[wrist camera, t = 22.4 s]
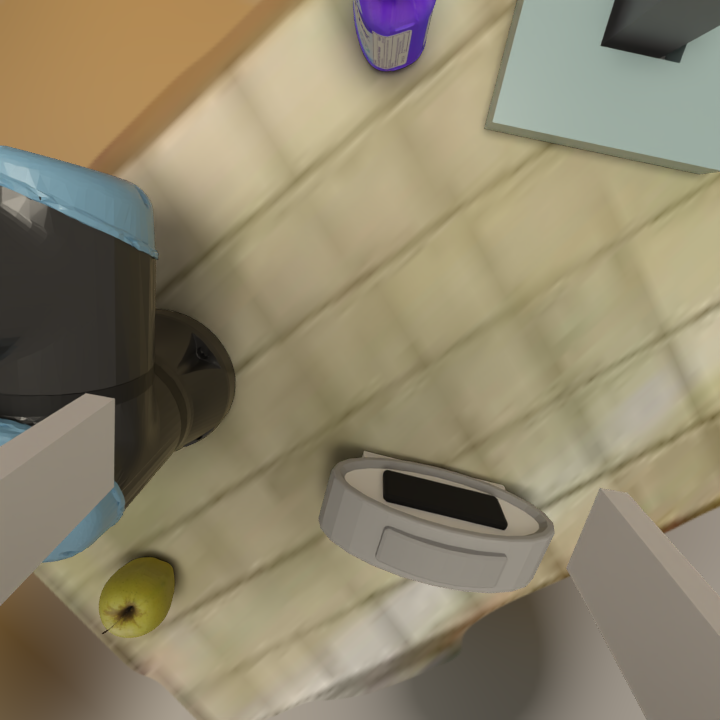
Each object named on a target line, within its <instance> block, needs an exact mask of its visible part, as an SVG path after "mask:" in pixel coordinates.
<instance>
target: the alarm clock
mask: <svg viewBox="0 0 720 720" xmlns="http://www.w3.org/2000/svg"><path fill="white" fill-rule="evenodd" d="M319 523H320V528H321V529H322V530H323V532H324V533H325V534H326V535H327V537H328V538H329V539H330V540H331V541H332V542H334V543H335V544H337V545H338V546H339V547H341V548H342V549H343V550H345V551H346V552H348V553H349V554H351V555H353V556H355V557H357V558H359V559H361V560H363V561H365V562H367V563H369V564H370V565H373V566H375V567H378V568H380V569H383V570H385V571H388V572H390V573H393V574H396V575H398V576H401V577H404V578H408V579H411V580H415V581H418V582H422V583H425V584H429V585H432V586H438V587H443V588H448V589H454V590H459V591H467V592H481V593H499V592H511V591H514V590H517V589H520V588H523V587H526V586H527V585H528V583H529V582H530V581H531V580H532V579H533V577H534V575H535V573H536V571H537V569H538V566H539V564H540V562H541V560H542V558H543V556H544V554H545V552H546V550H547V548H548V546H549V544H550V542H551V540H552V537H553V535H554V526H553V522H552V521H551V520H550V519H549V518H548V517H547V516H546V514H545V513H543V512H542V511H541V510H539V509H538V508H536V507H535V506H534V505H532V504H531V503H529V502H527V501H525V500H523V499H522V498H520V497H518V496H516V495H514V494H512V493H510V492H508V491H506V490H505V487H504V485H500V484H496V483H492V482H488V481H484V480H480V479H476V478H472V477H469V476H467V475H464V474H460V473H457V472H453V471H450V470H446V469H442V468H439V467H435V466H430V465H425V464H421V463H416V462H411V461H404V460H399V459H395V458H391V457H387V456H383V455H379V454H375V453H371V452H367V451H364V452H363V456H362V458H350V459H347V460H344V461H341V462H338V463H337V464H336V465H335V467H334V468H333V469H332V470H331V474H330V478H329V481H328V485H327V489H326V492H325V496H324V500H323V503H322V507H321V511H320V515H319Z"/></svg>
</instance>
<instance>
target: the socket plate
mask: <svg viewBox="0 0 720 720" xmlns="http://www.w3.org/2000/svg"><path fill="white" fill-rule="evenodd" d="M614 1H615V0H517V3H516V7H515V11H514V15H513V19H512V23H511V27H510V30H509V34H508V38H507V42H506V46H505V50H504V54H503V58H502V62H501V66H500V69H499V73H498V77H497V81H496V85H495V89H494V93H493V97H492V101H491V105H490V108H489V112H488V116H487V120H486V124H485V128H484V129H489V130H494V131H499V132H503V133H508V134H513V135H517V136H522V137H527V138H532V139H536V140H541V141H546V142H550V143H555V144H560V145H565V146H569V147H574V148H579V149H583V150H588V151H593V152H597V153H602V154H607V155H612V156H616V157H621V158H626V159H630V160H635V161H640V162H645V163H649V164H654V165H659V166H663V167H668V168H673V169H678V170H682V171H687V172H692V173H696V174H705V173H714V172H720V26H718V27H716V28H714V29H713V30H711V31H709V32H707V33H705V34H704V35H702V36H700V37H698V38H696V39H694V40H693V41H691V42H689V43H687V44H685V45H683V46H682V47H680V48H678V49H676V50H674V51H672V52H671V53H669V54H667V55H665V56H663V57H662V58H660V59H658V58H653V57H649V56H644V55H640V54H635V53H631V52H626V51H621V50H617V49H612V48H608V47H603V46H600V45H601V42H602V39H603V36H604V32H605V29H606V26H607V23H608V20H609V16H610V13H611V10H612V7H613V4H614Z"/></svg>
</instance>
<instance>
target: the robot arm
mask: <svg viewBox="0 0 720 720" xmlns="http://www.w3.org/2000/svg"><path fill="white" fill-rule="evenodd" d="M158 255H159V254H158V252H157V251H156V250H155V237H154V215H153V207H152V204H151V202H150V200H149V198H148V196H147V195H146V194H145V193H144V192H143V191H142V190H141V189H140V188H139V187H138V186H136V185H135V184H133V183H131V182H129V181H126V180H123V179H121V178H118V177H115V176H112V175H109V174H105V173H102V172H99V171H95V170H92V169H89V168H85V167H81V166H78V165H75V164H71V163H68V162H64V161H61V160H57V159H53V158H50V157H46V156H43V155H39V154H35V153H31V152H28V151H24V150H20V149H16V148H12V147H8V146H0V606H1V604H3V602H4V601H5V600H6V599H7V598H8V597H9V596H10V595H11V594H12V593H13V592H14V591H15V590H16V589H17V588H18V587H19V586H20V584H21V583H22V582H24V581H25V579H26V578H27V577H28V576H29V575H30V574H31V573H32V572H33V571H34V570H35V569H36V568H37V567H38V566H39V565H40V564H41V563H43V562H53V561H59V560H63V559H66V558H69V557H72V556H74V555H76V554H77V553H79V552H82V551H83V550H84V549H86V548H88V547H89V546H90V545H92V544H93V543H94V542H95V541H96V540H97V539H98V538H99V537H100V536H101V535H102V534H103V533H104V532H105V531H106V530H107V529H109V528H110V527H111V526H113V525H115V524H116V523H117V522H118V521H119V519H120V518H121V516H122V515H123V512H124V511H125V509H126V508H127V507H128V505H129V504H130V503H131V502H132V501H133V499H134V498H135V497H136V496H137V495H138V494H139V492H140V491H141V490H142V489H143V488H144V486H145V485H146V484H147V483H148V482H149V481H150V479H151V478H152V477H153V476H154V475H155V473H156V472H157V471H158V470H159V469H160V468H161V466H162V465H163V464H164V463H165V462H166V460H167V459H168V458H169V457H170V456H171V455H172V453H173V452H175V451H177V450H179V449H181V448H182V447H186V446H189V445H191V444H194V443H196V442H198V441H200V440H202V439H203V438H205V437H206V436H208V435H209V434H210V433H211V432H212V431H213V430H214V429H215V428H216V427H217V426H218V425H219V424H220V422H221V421H222V420H223V418H224V417H225V416H226V414H227V413H228V411H229V409H230V407H231V404H232V401H233V398H234V393H235V376H234V370H233V366H232V363H231V360H230V358H229V356H228V354H227V352H226V350H225V348H224V347H223V345H222V344H221V342H220V341H219V340H218V339H217V338H216V336H215V335H214V334H213V333H212V332H211V331H210V330H208V329H207V328H206V327H205V326H203V325H202V324H201V323H199V322H197V321H196V320H194V319H192V318H190V317H188V316H186V315H183V314H181V313H177V312H174V311H169V310H161V309H155V287H156V259H158ZM567 570H568V572H569V574H570V576H571V578H572V580H573V582H574V584H575V585H576V587H577V589H578V591H579V593H580V595H581V597H582V599H583V601H584V602H585V604H586V606H587V608H588V610H589V612H590V613H591V616H592V617H593V619H594V621H595V623H596V625H597V627H598V629H599V631H600V632H601V635H602V636H603V638H604V640H605V642H606V644H607V646H608V648H609V649H610V651H611V653H612V655H613V657H614V659H615V661H616V663H617V665H618V667H619V668H620V670H621V672H622V674H623V676H624V678H625V680H626V682H627V683H628V685H629V687H630V689H631V691H632V693H633V695H634V697H635V699H636V700H637V702H638V704H639V706H640V708H641V710H642V712H643V714H644V716H645V717H646V719H647V720H720V596H719V595H718V594H717V593H716V592H715V591H714V590H713V589H712V587H711V586H710V585H709V584H708V583H707V582H706V581H705V580H704V578H703V577H702V576H701V575H700V574H699V573H698V572H697V571H696V570H695V568H694V567H693V566H692V565H691V564H690V563H689V562H688V560H687V559H686V558H685V557H684V556H683V555H682V554H681V553H680V551H678V549H677V548H676V547H675V546H674V545H673V544H672V542H670V540H669V539H668V538H667V537H666V536H665V535H664V533H663V532H662V531H661V530H660V529H659V528H658V527H657V526H656V524H655V523H654V522H653V521H652V520H651V519H650V518H649V517H648V515H647V514H646V513H645V512H644V511H643V510H642V509H641V508H640V506H639V505H638V504H637V503H636V502H635V501H634V500H633V499H632V497H631V496H630V495H629V494H628V493H625V492H619V491H614V490H609V489H603V488H600V489H599V492H598V494H597V496H596V499H595V501H594V503H593V506H592V508H591V511H590V513H589V515H588V518H587V520H586V523H585V525H584V527H583V530H582V532H581V534H580V537H579V539H578V542H577V544H576V546H575V549H574V551H573V554H572V556H571V558H570V561H569V563H568V566H567Z"/></svg>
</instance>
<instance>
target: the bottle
mask: <svg viewBox="0 0 720 720" xmlns="http://www.w3.org/2000/svg"><path fill="white" fill-rule="evenodd" d="M435 2H436V0H353V10H354V21H355V27H356V32H357V36H358V40H359V43H360V46H361V49H362V51H363V54H364V56H365V57H366V59H367V61H368V62H369V63H370V64H371V65H372V66H373V67H374V68H375V69H377V70H380V71H395V70H398V69H401V68H404V67H406V66H407V65H410V64H412V63H413V62H415V61H416V60H417V59H418V58H419V56H420V55H421V53H422V51H423V49H424V47H425V43H426V37H427V32H428V28H429V24H430V20H431V16H432V12H433V8H434V5H435Z"/></svg>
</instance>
